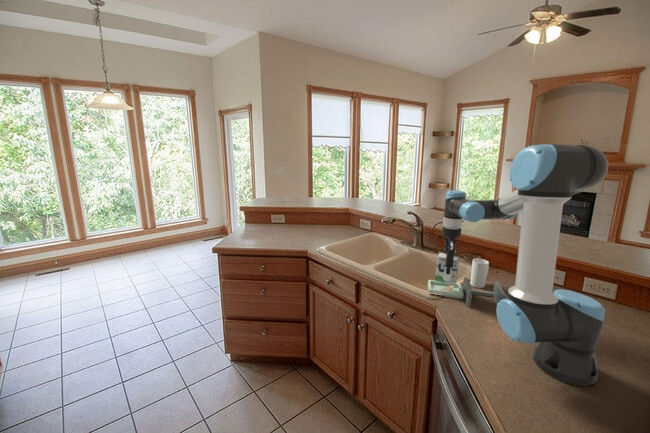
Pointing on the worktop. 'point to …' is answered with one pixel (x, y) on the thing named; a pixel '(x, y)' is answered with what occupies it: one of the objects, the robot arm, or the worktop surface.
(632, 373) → the worktop surface
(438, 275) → the ink box
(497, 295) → the bay
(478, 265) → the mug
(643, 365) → the worktop surface
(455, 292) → the tray
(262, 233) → the worktop surface
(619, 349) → the worktop surface
